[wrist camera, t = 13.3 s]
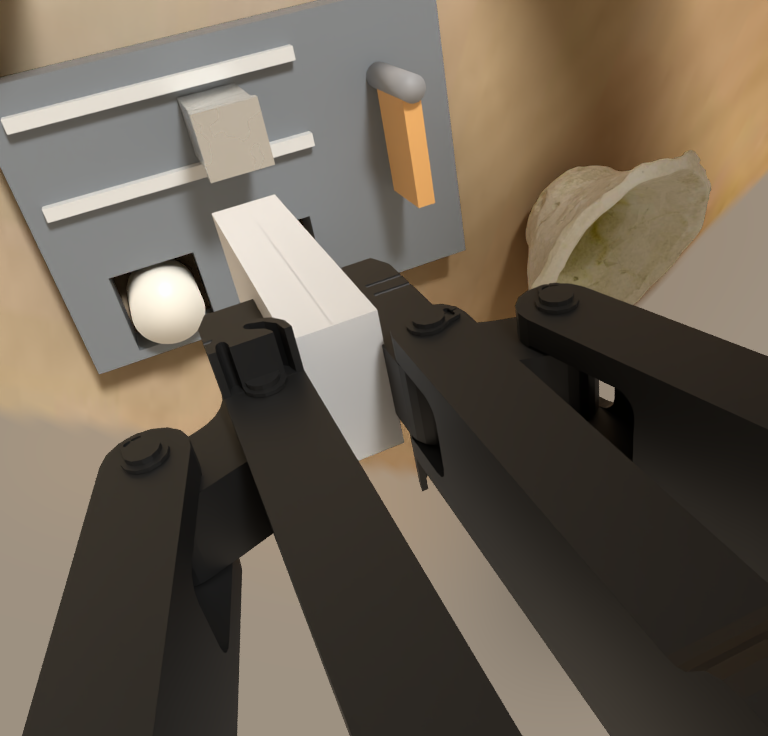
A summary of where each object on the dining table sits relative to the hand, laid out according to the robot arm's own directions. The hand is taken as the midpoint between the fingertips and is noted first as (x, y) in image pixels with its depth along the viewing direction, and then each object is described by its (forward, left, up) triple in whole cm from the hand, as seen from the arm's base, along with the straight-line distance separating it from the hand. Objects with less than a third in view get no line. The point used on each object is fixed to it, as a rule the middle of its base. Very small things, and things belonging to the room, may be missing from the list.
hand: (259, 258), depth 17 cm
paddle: (+5, +12, -24) cm, 27 cm away
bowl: (+16, +25, -27) cm, 40 cm away
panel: (+6, +4, -26) cm, 27 cm away
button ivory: (+11, -3, -26) cm, 28 cm away
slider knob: (+2, +3, -24) cm, 24 cm away
